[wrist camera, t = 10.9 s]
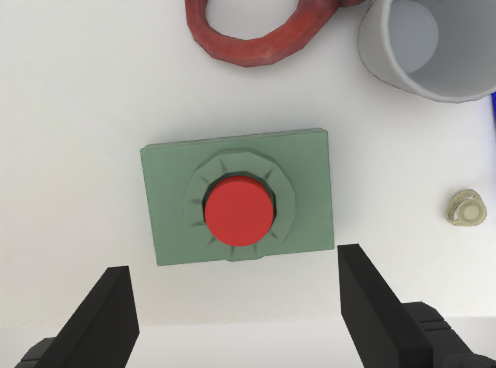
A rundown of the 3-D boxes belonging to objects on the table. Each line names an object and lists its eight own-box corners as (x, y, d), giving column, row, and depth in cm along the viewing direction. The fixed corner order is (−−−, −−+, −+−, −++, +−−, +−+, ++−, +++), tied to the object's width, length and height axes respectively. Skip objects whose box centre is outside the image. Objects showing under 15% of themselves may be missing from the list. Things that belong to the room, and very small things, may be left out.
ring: (453, 225, 32) (475, 239, 29) (430, 210, 31) (449, 223, 28) (476, 194, 31) (501, 205, 28) (453, 179, 31) (475, 188, 28)
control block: (163, 254, 32) (151, 278, 28) (146, 144, 30) (132, 153, 26) (328, 238, 32) (340, 260, 28) (321, 127, 30) (333, 133, 26)
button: (211, 240, 28) (209, 249, 26) (203, 178, 27) (201, 184, 26) (274, 234, 28) (276, 243, 26) (268, 172, 27) (270, 178, 25)
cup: (320, 65, 29) (351, 57, 21) (399, -85, 27) (468, -160, 19) (419, 118, 30) (486, 131, 22) (502, -24, 28) (611, -70, 20)
